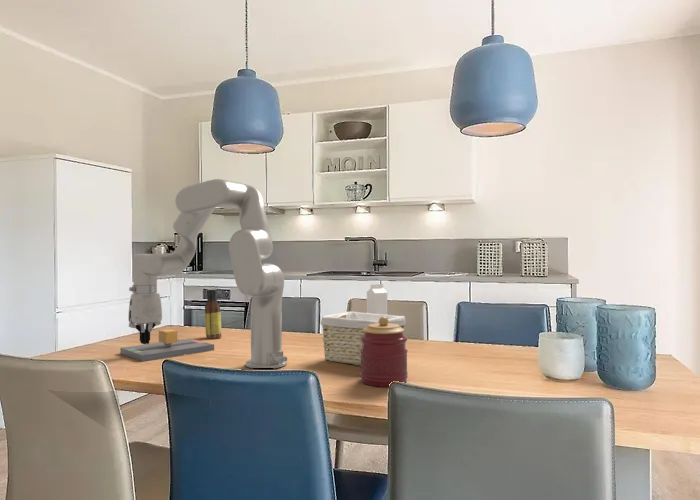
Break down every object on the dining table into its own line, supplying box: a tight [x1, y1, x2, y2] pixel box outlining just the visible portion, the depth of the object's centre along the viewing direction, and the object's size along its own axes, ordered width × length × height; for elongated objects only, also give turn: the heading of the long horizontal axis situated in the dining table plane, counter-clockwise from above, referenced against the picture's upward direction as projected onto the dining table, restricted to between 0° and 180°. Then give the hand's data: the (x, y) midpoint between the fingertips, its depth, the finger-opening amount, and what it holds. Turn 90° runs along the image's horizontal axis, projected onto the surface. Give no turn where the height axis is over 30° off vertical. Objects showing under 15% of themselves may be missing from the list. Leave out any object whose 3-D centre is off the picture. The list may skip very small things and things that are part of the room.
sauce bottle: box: [204, 288, 222, 340], centre depth 211 cm, size 7×6×20 cm
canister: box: [359, 317, 409, 388], centre depth 142 cm, size 13×13×18 cm
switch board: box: [119, 338, 215, 363], centre depth 183 cm, size 18×26×2 cm
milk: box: [366, 283, 388, 315], centre depth 206 cm, size 6×6×22 cm
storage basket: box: [320, 310, 407, 366], centre depth 168 cm, size 24×16×15 cm
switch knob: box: [158, 328, 178, 346], centre depth 183 cm, size 6×4×5 cm, turn 45°
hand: (144, 343), depth 178 cm, fingers closed
